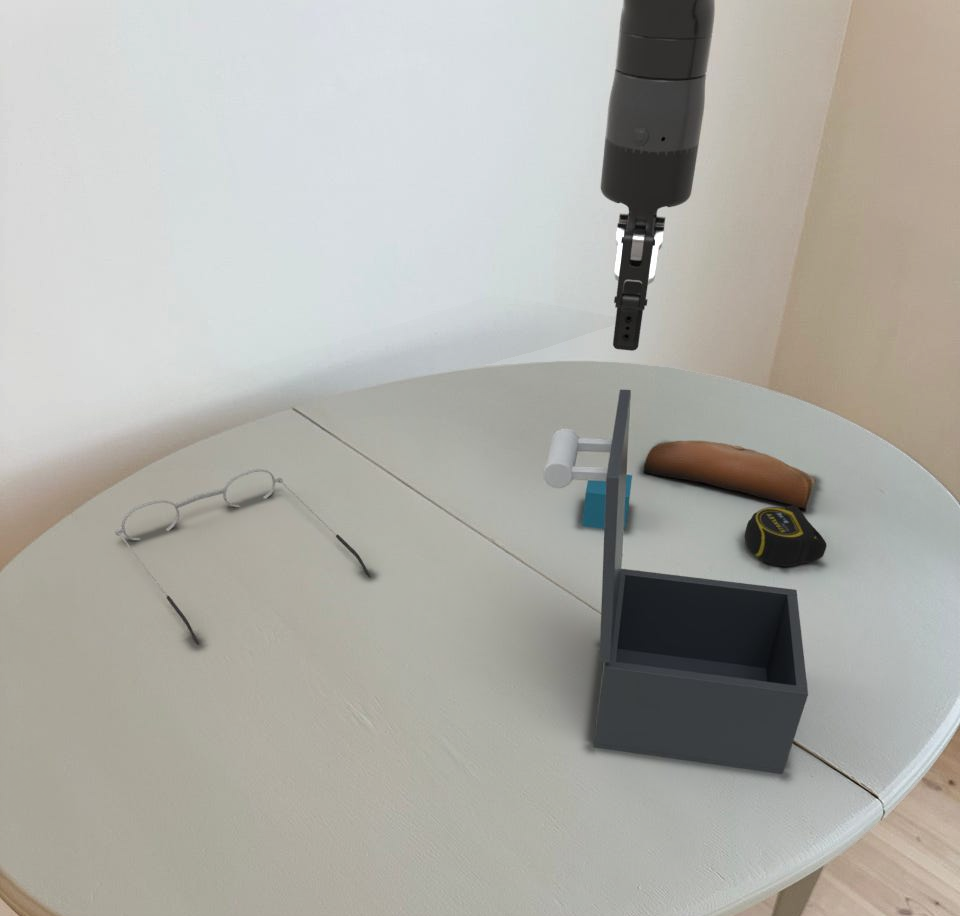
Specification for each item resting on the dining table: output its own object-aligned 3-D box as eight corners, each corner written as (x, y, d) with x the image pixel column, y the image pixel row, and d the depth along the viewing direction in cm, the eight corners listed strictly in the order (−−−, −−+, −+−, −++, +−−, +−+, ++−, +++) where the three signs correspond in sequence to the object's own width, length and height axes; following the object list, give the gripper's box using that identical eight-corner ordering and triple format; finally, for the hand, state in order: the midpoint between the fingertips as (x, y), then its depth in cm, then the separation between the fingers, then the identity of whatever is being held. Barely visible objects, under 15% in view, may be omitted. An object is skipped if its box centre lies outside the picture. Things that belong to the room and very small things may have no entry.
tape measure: (823, 570, 97) (832, 538, 95) (757, 576, 96) (765, 544, 94) (793, 531, 102) (802, 500, 100) (731, 537, 101) (738, 505, 99)
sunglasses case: (819, 475, 110) (826, 443, 104) (802, 530, 108) (808, 500, 102) (662, 440, 115) (661, 408, 109) (643, 492, 114) (641, 461, 107)
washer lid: (630, 389, 72) (558, 387, 73) (618, 477, 62) (535, 473, 63) (621, 563, 81) (557, 559, 82) (610, 662, 72) (538, 657, 73)
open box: (773, 670, 86) (796, 589, 80) (781, 777, 76) (808, 694, 71) (605, 648, 87) (616, 567, 82) (592, 750, 78) (604, 667, 72)
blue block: (627, 511, 105) (632, 474, 102) (624, 533, 101) (629, 497, 99) (585, 506, 105) (589, 470, 102) (581, 528, 102) (585, 492, 99)
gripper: (699, 161, 74) (667, 366, 84) (700, 117, 84) (671, 303, 95) (598, 154, 75) (579, 358, 85) (612, 111, 85) (593, 296, 96)
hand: (628, 329), depth 90 cm, fingers open, 8 cm apart
